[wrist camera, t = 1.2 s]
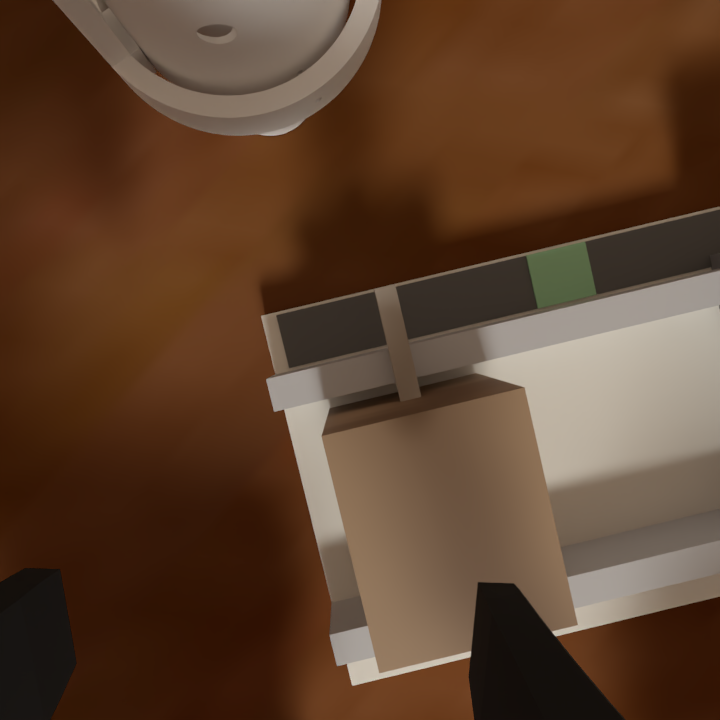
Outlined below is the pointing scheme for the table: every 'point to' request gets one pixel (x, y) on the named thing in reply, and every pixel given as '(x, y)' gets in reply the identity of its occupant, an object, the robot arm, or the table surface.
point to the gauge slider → (441, 505)
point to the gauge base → (547, 406)
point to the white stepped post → (231, 56)
